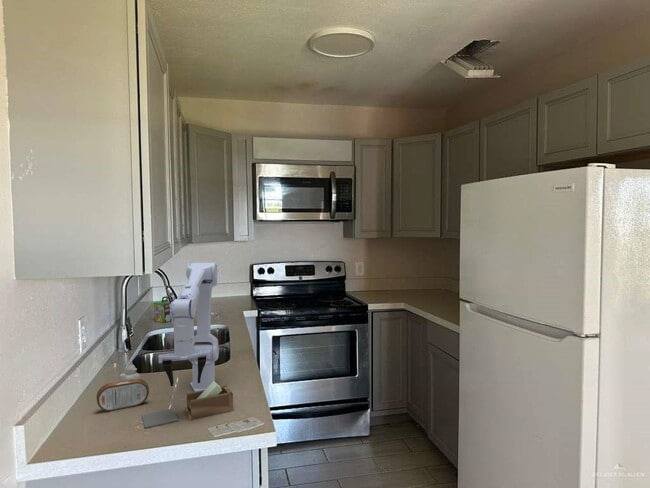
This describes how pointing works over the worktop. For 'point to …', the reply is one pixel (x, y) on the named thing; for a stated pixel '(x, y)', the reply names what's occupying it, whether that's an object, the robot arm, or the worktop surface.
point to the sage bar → (211, 390)
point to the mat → (159, 418)
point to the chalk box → (162, 310)
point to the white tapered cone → (130, 373)
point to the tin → (122, 394)
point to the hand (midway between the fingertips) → (185, 383)
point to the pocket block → (209, 403)
